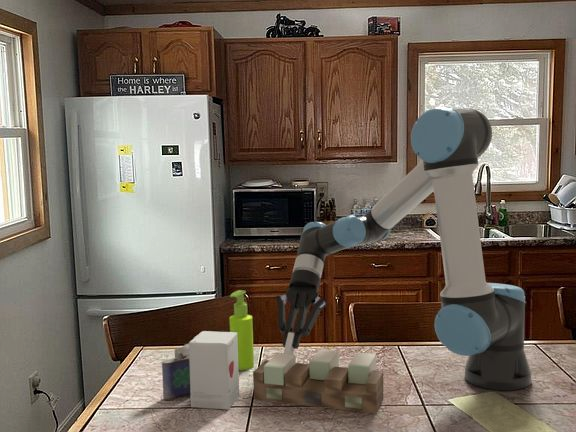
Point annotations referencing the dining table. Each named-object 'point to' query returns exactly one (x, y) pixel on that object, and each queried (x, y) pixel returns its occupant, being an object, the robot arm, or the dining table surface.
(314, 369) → the button middle
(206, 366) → the supplement box
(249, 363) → the soap dispenser
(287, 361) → the button
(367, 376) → the button
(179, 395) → the flask
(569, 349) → the dining table surface
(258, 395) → the brown wooden slotted rack
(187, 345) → the bunny figurine
